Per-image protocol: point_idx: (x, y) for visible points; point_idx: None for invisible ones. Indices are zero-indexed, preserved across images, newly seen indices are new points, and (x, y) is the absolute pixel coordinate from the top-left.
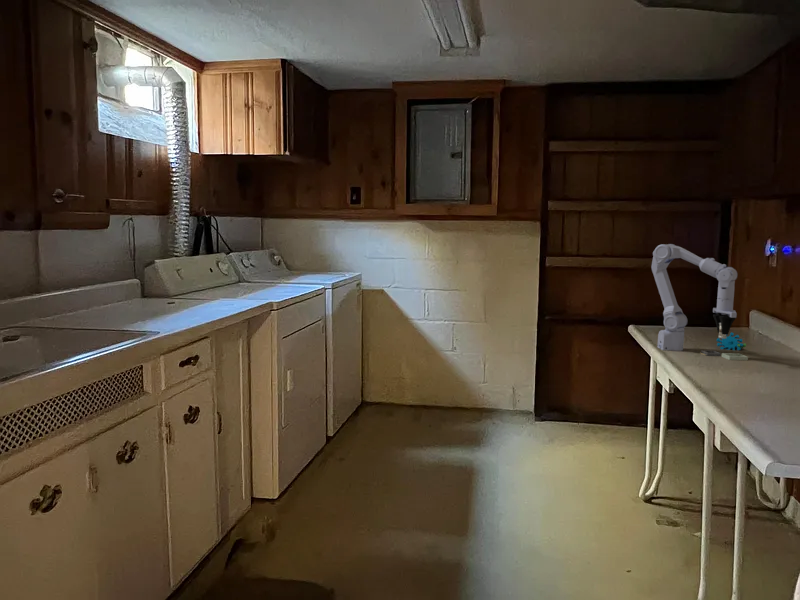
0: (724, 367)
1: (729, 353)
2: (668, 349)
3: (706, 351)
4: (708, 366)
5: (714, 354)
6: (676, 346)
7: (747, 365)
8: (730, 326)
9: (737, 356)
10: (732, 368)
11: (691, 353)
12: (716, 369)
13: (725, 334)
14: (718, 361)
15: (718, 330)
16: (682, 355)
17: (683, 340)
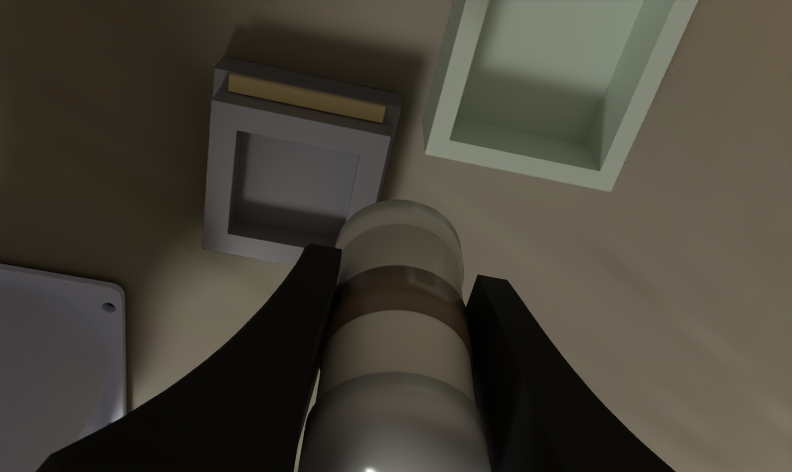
0: (723, 321)
1: (455, 62)
2: (93, 430)
3: (230, 201)
4: (641, 406)
5: (374, 198)
6: (88, 410)
7: (764, 36)
8: (587, 394)
9: (644, 95)
10: (784, 285)
11: (85, 222)
12: (746, 413)
13: (460, 289)
14: (497, 212)
15: (318, 366)
16: (200, 352)
17: (11, 389)
